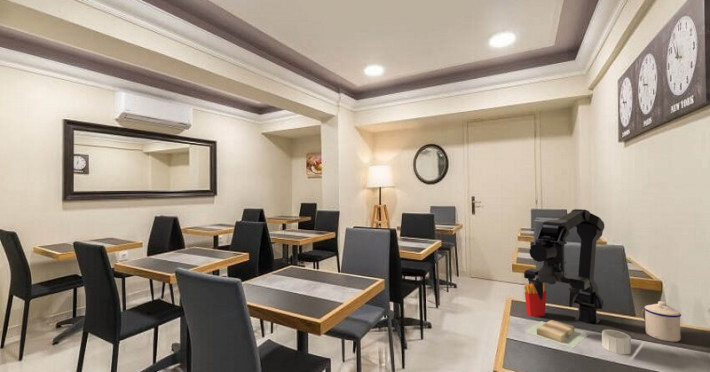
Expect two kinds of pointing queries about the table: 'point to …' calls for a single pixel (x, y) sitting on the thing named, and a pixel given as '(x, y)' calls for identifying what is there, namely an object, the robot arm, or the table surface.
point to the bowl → (616, 341)
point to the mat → (569, 341)
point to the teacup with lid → (662, 322)
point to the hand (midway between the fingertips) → (555, 303)
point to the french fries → (534, 301)
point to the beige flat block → (555, 330)
